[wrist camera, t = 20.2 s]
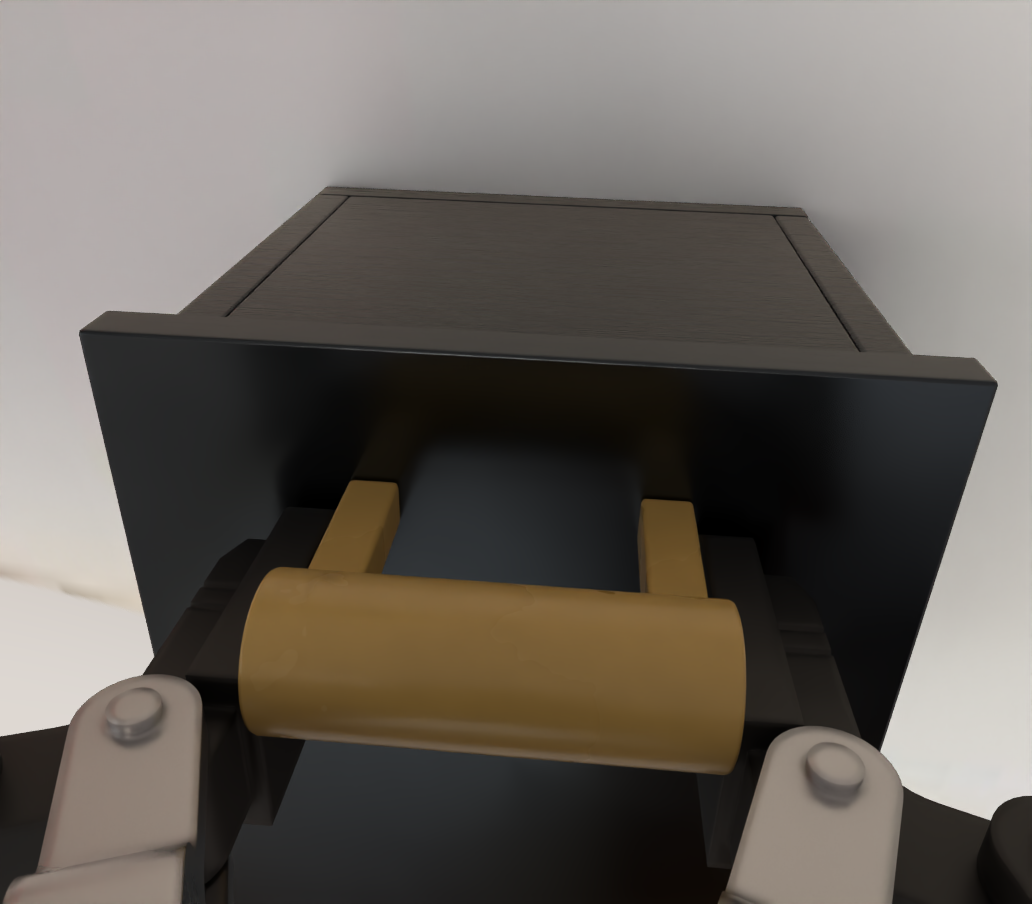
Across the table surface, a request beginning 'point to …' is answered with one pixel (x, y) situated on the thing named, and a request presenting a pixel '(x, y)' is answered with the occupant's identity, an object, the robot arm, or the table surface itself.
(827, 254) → the black hollow box
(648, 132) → the table surface
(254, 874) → the drawer with gold handle
